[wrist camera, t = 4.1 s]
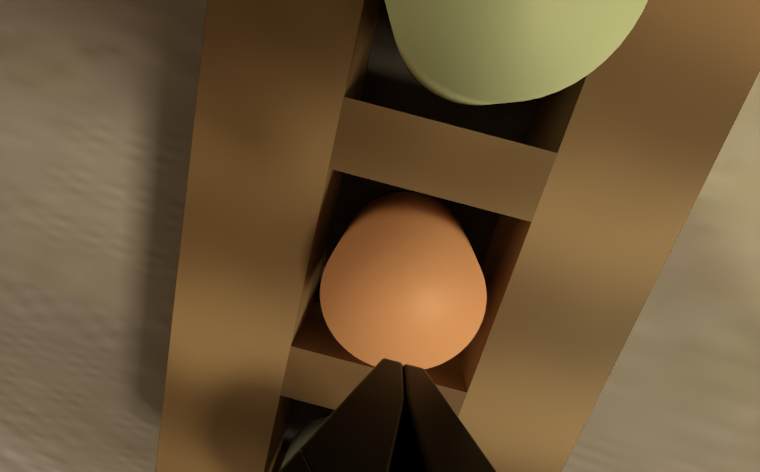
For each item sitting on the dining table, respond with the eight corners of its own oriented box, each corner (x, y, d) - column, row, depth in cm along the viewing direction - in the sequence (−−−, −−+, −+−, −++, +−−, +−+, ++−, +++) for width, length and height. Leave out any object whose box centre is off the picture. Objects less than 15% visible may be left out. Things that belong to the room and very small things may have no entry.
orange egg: (447, 324, 16) (457, 388, 13) (330, 293, 16) (305, 348, 13) (485, 210, 15) (510, 244, 11) (358, 177, 15) (339, 199, 11)
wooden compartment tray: (481, 521, 20) (495, 605, 16) (195, 445, 20) (150, 513, 16) (733, -53, 12) (849, -112, 9) (284, -171, 12) (237, -274, 9)
